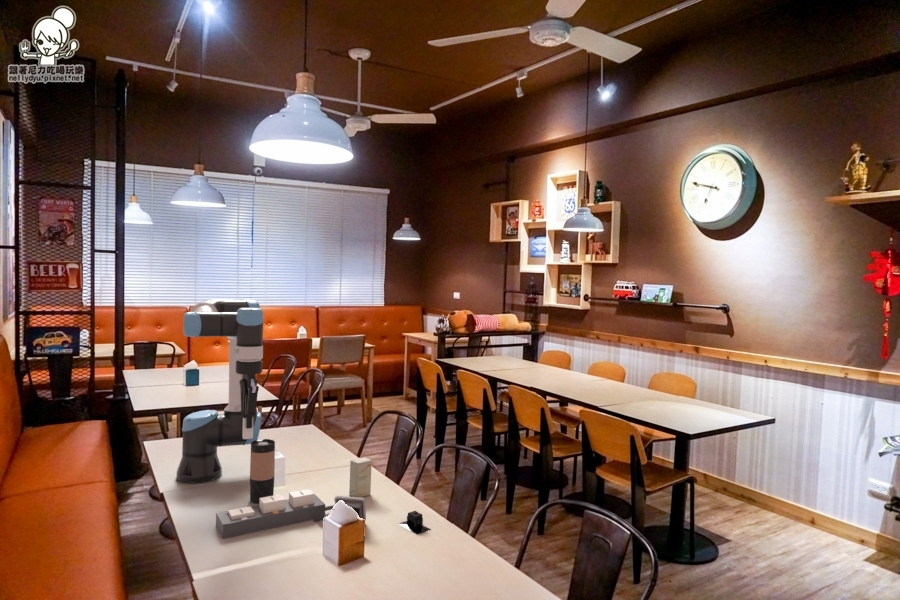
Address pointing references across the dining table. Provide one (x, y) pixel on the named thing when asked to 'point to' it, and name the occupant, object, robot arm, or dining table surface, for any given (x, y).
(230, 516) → the button
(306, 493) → the button
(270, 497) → the button
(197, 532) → the dining table surface
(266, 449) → the travel mug
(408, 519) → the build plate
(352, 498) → the electrical switch
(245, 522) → the power strip
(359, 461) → the skincare box
